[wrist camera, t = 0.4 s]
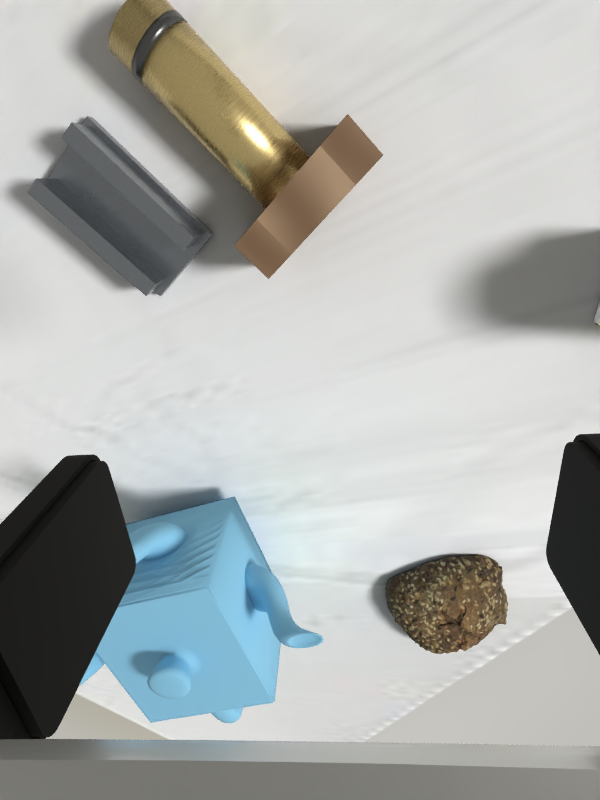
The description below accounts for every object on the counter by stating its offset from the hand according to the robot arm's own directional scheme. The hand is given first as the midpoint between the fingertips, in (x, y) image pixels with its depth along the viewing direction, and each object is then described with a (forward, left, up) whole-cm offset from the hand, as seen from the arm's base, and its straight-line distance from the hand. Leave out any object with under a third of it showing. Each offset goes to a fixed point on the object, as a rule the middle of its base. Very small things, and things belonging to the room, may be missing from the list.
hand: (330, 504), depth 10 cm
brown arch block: (-2, -5, -29) cm, 30 cm away
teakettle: (+29, +11, -29) cm, 43 cm away
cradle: (+8, -14, -29) cm, 33 cm away
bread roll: (+16, +34, -30) cm, 48 cm away
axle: (-2, -12, -29) cm, 32 cm away
